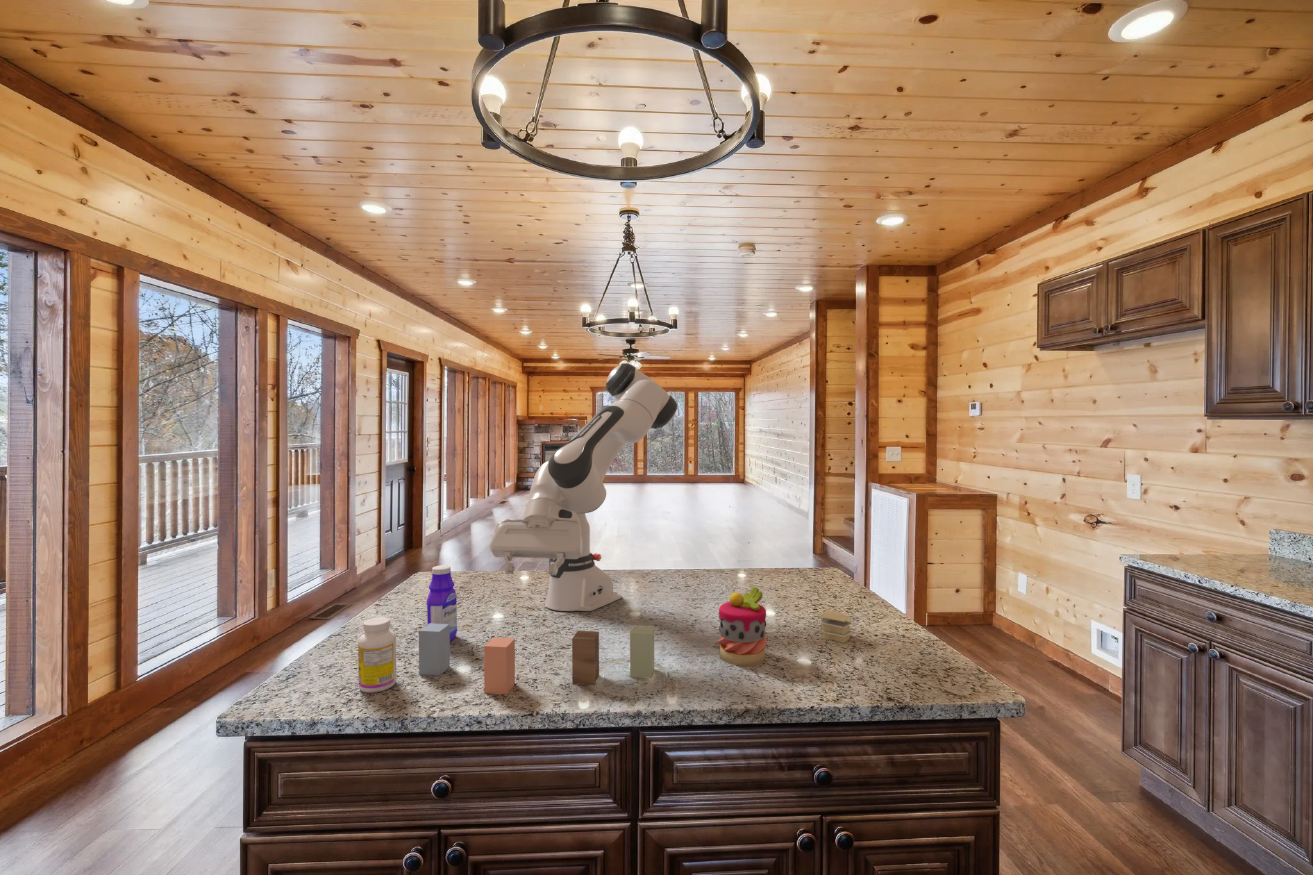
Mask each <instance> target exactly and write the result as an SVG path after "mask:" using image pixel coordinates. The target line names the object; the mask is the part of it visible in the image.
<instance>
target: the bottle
mask: <svg viewBox="0 0 1313 875" xmlns="http://www.w3.org/2000/svg"><path fill="white" fill-rule="evenodd" d="M431 571H432V572H431V574H432V575H431V581H430V584H429V585H428V589H429V593H428V595H427V599H426V615H427V616H426V622H427V623H426V626H427V625H428V624H429V623H433V624H449V632H450V641H452V640H453V639H454V638H455V637H456V636H457V632H458V619H457V618H458V614H457V613H458V612H457V610H458V604H457V602H458V601H457V597H458V596H457V593H456V590H455V588H454V586H455V581H453V579H452V575H451V574H452V572H451V566H450V565H448V564H447V565H446V564H443V565H441V564H440V565H436V566H433V567H432V569H431Z"/></svg>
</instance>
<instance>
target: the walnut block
mask: <svg viewBox="0 0 1313 875" xmlns="http://www.w3.org/2000/svg"><path fill="white" fill-rule="evenodd" d="M571 646H572V649H571V650H572V651H571V659H572V660H571V661H572V662H571V663H572V664H571V665H572V672H571V674H572V676H571V677H572V678H571V681H572V683H571V684H572V685H585V686H586V685H587V686H595V685H596V682H597V680H598V678H599V676H600V631H595V630H593V631H591V630H577V631H576V633H575V634H574V635H573V637H572V639H571Z"/></svg>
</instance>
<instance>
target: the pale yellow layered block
mask: <svg viewBox="0 0 1313 875" xmlns="http://www.w3.org/2000/svg"><path fill="white" fill-rule="evenodd" d="M820 617H821V618H822V619H820V623H821V624H822V627H821V628H820V632H822V638H823V639H824V640H828V641H829V640H831V641H835V642H837V643H842V644H844V643H845V642H847V641H849V640H851V639H850V634H851V633H852V631H851V627H850V626H851V625H852V624H853V623H852V622H850V621H848V620H850V619H852V617H851V616H848V615H846V614H844V613H840V612H837V611H834V610H825V611H823V612H822V613H821V614H820Z"/></svg>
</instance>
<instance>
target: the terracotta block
mask: <svg viewBox="0 0 1313 875" xmlns="http://www.w3.org/2000/svg"><path fill="white" fill-rule="evenodd" d="M515 639H516V638H513V637H511V638H509V637H508V638H507V637H492V638H491V639H490V640H489V641H488V642H487V643H486V644H485V645H483V660H484V661H483V663H484V664H483V665H484V666H483V668H484V670H483V672H484V673H483V675H484V678H483V679H484V680H483V684H484V685H483V686H484V687H483V688H484V690H483V692H484V694H496V695H508V693H509V692H510V691H511V690H512V688H514V686H515V684H516V640H515Z"/></svg>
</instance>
